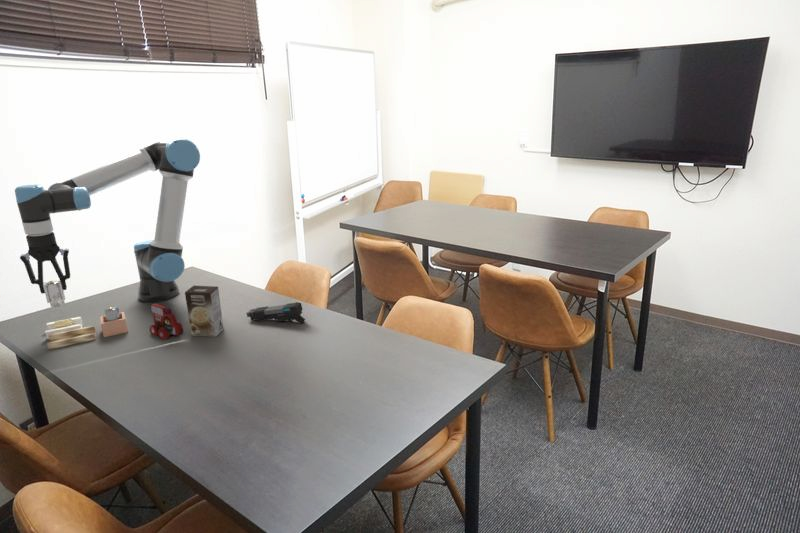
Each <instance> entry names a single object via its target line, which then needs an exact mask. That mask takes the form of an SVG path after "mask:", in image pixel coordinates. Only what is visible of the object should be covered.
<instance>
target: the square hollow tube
mask: <svg viewBox="0 0 800 533" xmlns="http://www.w3.org/2000/svg"><path fill="white" fill-rule="evenodd" d="M119 316H120V319H118V320H113V321H109V322H107V320H106V315H105V314H104V315H101V316H100V317H99V318H100V326H101V330H102V335H103V338H107V337H112V336H116V335H121V334H122V335H123V334H125V333H126V334H127V333H128V332H129V330H128V325H127V320H126V316H125V312H124V311H122V312H119Z"/></svg>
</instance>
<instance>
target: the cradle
mask: <svg viewBox="0 0 800 533" xmlns="http://www.w3.org/2000/svg"><path fill="white" fill-rule="evenodd" d="M67 319H68V318H67ZM67 319H66V318H65V319H64V320H67ZM70 319H72V326H67V327H62V328H57V329H55V328H54V326H55V322H57V321H58V320H56V321H52V322H51V321H50V322H46V328H47V330H45V331H44V334H45V337H46V340H49V335H51V334H56V333H60V332H65V331H70V330H75V329H80V328H83V320H82V317H81V316H76V317H71V318H70ZM62 320H63V319H61V320H59V321H62Z"/></svg>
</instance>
